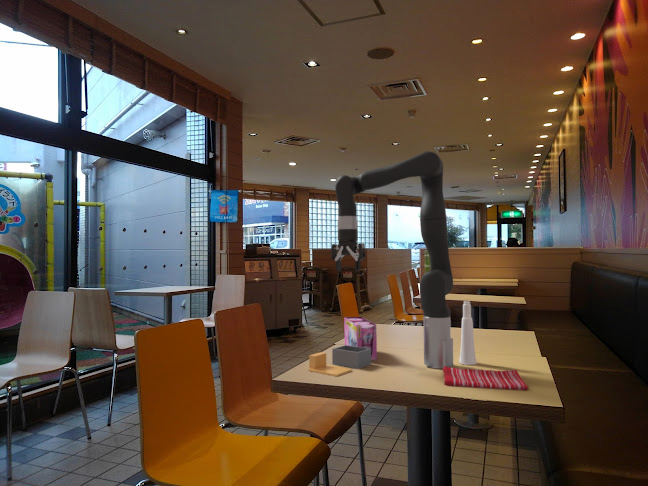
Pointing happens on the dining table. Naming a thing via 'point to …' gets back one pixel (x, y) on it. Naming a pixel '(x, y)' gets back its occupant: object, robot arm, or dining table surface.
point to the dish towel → (484, 378)
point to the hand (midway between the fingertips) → (348, 271)
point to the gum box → (361, 334)
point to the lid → (325, 366)
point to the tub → (351, 356)
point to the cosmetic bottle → (467, 337)
